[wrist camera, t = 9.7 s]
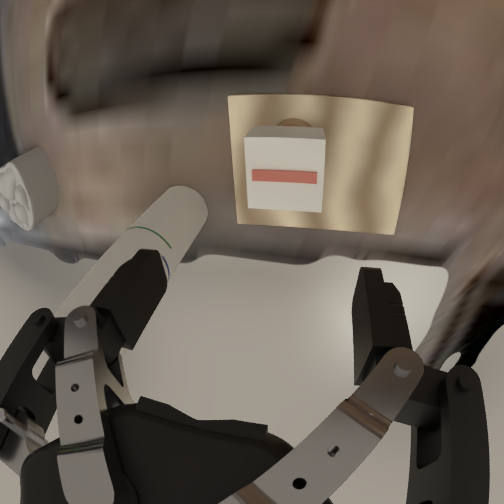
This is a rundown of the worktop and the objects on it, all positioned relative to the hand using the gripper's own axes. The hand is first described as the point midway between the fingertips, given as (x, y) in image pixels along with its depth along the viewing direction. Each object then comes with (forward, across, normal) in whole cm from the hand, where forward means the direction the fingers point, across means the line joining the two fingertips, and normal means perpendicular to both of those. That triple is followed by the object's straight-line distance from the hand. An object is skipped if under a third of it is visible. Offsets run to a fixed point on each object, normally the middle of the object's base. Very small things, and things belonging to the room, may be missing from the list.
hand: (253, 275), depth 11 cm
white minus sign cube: (+16, 0, 0) cm, 16 cm away
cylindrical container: (+24, +15, +10) cm, 30 cm away
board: (+24, -3, +3) cm, 24 cm away
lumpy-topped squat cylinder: (+24, +45, +4) cm, 51 cm away
